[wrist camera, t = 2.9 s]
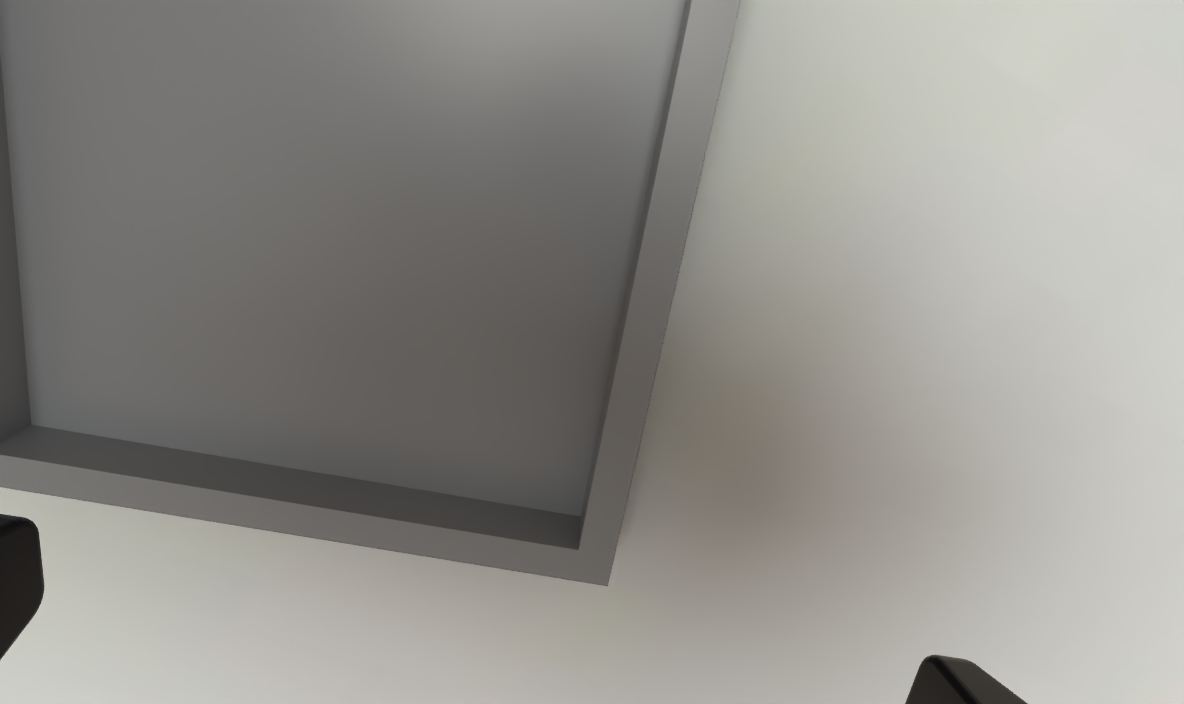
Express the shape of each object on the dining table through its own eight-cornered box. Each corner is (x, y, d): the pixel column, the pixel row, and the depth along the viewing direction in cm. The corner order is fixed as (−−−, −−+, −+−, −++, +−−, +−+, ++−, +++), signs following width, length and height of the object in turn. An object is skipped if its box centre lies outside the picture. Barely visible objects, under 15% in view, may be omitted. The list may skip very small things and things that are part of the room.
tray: (20, 437, 21) (-53, 478, 19) (-45, -293, 16) (-161, -364, 13) (607, 535, 22) (607, 585, 20) (752, -125, 16) (777, -165, 14)
